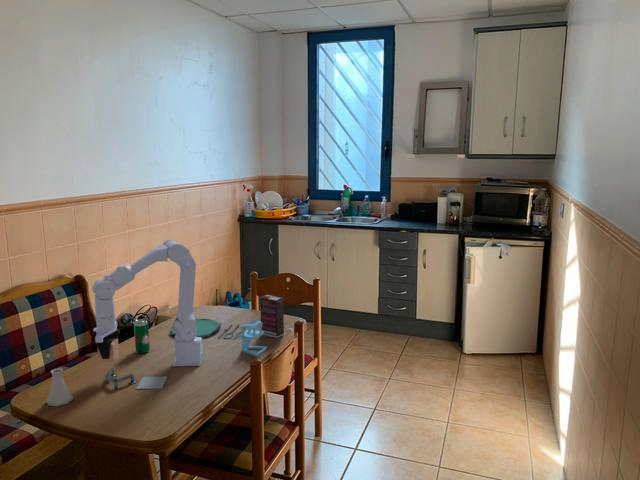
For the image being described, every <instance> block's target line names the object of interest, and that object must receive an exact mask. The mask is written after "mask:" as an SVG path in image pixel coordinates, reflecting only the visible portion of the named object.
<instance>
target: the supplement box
mask: <svg viewBox="0 0 640 480" xmlns="http://www.w3.org/2000/svg"><path fill="white" fill-rule="evenodd" d="M259 302H260V303H259V305H260V307H259V308H260V322H262V323H263V324H262V328H261V329H262V331H263V332H264V334H263V335H262V336H267V337H271V338H275V339H279V338H281V337H283V336H284V335H285V331H284V330H285V329H284V327H285V323H284V320H285V319H284V297H281V296H275V295H270V294H265V295H262V296H260V297H259Z"/></svg>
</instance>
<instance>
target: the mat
mask: <svg viewBox="0 0 640 480" xmlns="http://www.w3.org/2000/svg"><path fill="white" fill-rule="evenodd" d="M167 379H168V375H167V376H142V378H141V380H140V382H139V383H138V385H137V386H136V388H135V390H158V389H159V390H160V389H161V390H162V389H163V387H164V385H165V383H166V381H167Z"/></svg>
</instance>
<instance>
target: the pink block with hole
mask: <svg viewBox="0 0 640 480" xmlns="http://www.w3.org/2000/svg"><path fill="white" fill-rule="evenodd" d="M119 347H120V346H119V338H117V339H113V340H112V343H111V347H110V357H109V359H102V357H101V354H100V352H99V349H98V348H97V347H96V349H97V359H98V360H97V362H98V363H115V362H116V361H117V360H118V358H119V357H120V348H119Z"/></svg>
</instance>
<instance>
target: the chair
mask: <svg viewBox="0 0 640 480" xmlns="http://www.w3.org/2000/svg"><path fill="white" fill-rule="evenodd" d="M247 322H248V323H247V324H244V325H240V328H241V330H242V333H240V334H241V335H240V337H239V338H241V350H240V351H241V352H243V353H246V354H247V355H250V356H252V357H253V356H254V357H256V358H257V357H259V356H260V355H261V354H263V353H264V352H265V351H266V350H267V348H268V347H267V346H263V345H250V344H251V341H252V340H254V341H256V340H257V339H259V337H261V336H264V335H263V334H264V332H263V331H262V329H261V328H262V324H263V323H262V322H261V320H259V319H258V320H257V319H253V320H250V321H247ZM243 328H245V329H246V328H247V330H246V331H245V329H243ZM257 328H259V330H257ZM252 350H259V351H258V352H254V351H252Z"/></svg>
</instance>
